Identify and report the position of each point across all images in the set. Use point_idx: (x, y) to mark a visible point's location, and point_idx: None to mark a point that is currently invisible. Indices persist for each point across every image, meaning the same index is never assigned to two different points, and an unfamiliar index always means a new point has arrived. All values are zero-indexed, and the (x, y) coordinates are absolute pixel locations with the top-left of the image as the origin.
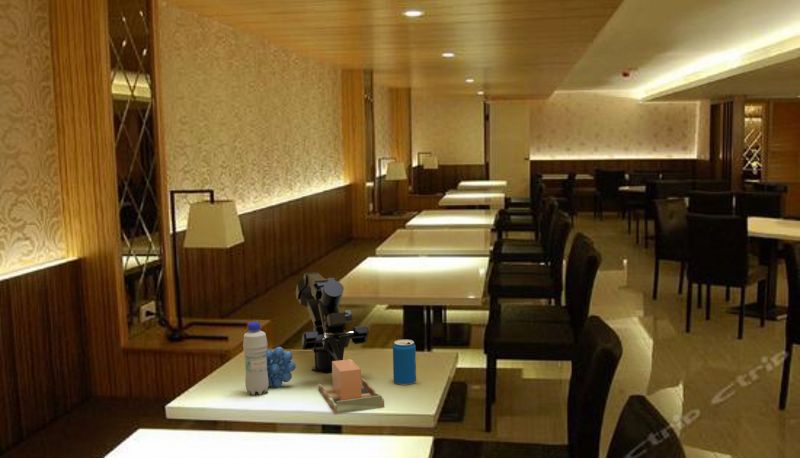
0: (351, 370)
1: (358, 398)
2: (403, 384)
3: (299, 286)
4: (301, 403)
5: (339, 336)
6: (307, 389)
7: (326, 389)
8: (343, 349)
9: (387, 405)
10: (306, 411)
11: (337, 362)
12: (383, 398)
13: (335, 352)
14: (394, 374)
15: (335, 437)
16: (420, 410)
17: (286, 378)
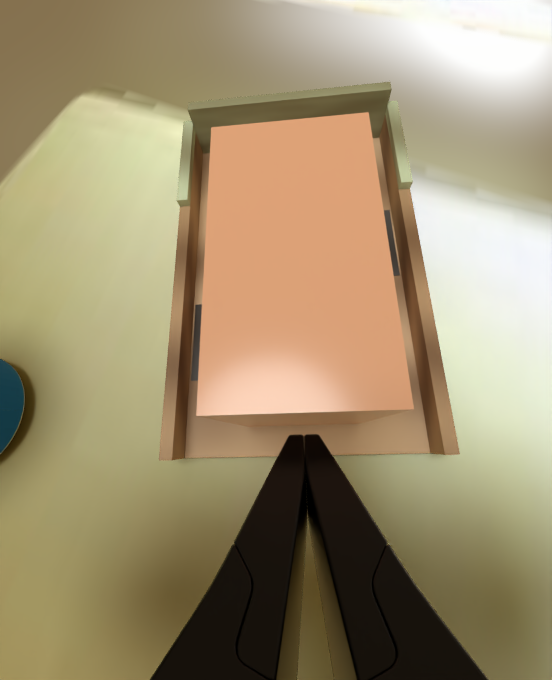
0: (281, 123)
1: (290, 97)
2: (4, 362)
3: None
4: (531, 295)
5: None
6: (508, 515)
7: (395, 434)
8: (233, 560)
9: (174, 181)
10: (501, 199)
11: (358, 344)
12: (183, 125)
13: (373, 527)
14: None
15: (403, 4)
16: (94, 119)
17: None
